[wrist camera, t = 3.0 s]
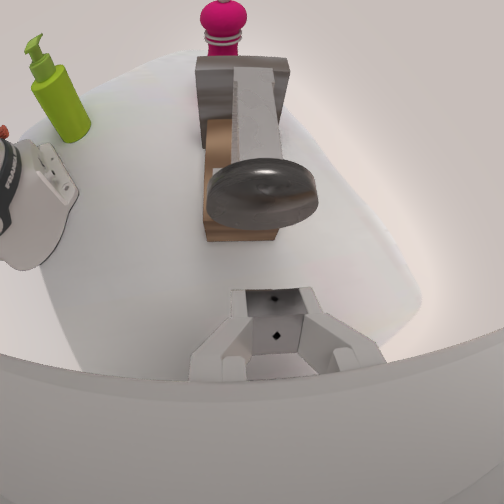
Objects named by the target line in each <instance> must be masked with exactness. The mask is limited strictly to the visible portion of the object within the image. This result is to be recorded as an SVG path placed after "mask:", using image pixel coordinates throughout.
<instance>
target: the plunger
mask: <svg viewBox="0 0 504 504" xmlns="http://www.w3.org/2000/svg"><path fill="white" fill-rule="evenodd" d="M274 85H275V80H274V74H273V69H272V68H259V67H234V79H233V106H232V141H231V164H230V165H228V166H226V167H224V168H213V176H212V177H211V179H210V180H209V182H208V184H207V199H206V210H207V213H208V215H209V216H210V217H211V219H213V220H214V221H216V222H217V223H219V224H222V225H224V226H227V227H231V228H235V229H242V230H270V229H277V228H282V227H286V226H290V225H293V224H296V223H299V222H301V221H303V220H305V219H306V218H308V217H309V216H311V215H312V214H313V213H314V212H315V210H316V209H317V207H318V196H317V190H316V184H315V179H314V177H313V175H312V174H311V173H310V172H309V171H308V170H307V169H306V168H305V167H303V166H301V165H299V164H297V163H294V162H292V161H288V160H284V159H283V156H282V149H281V141H280V134H279V127H278V120H277V113H276V107H275V100H274V94H273V90H274Z"/></svg>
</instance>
